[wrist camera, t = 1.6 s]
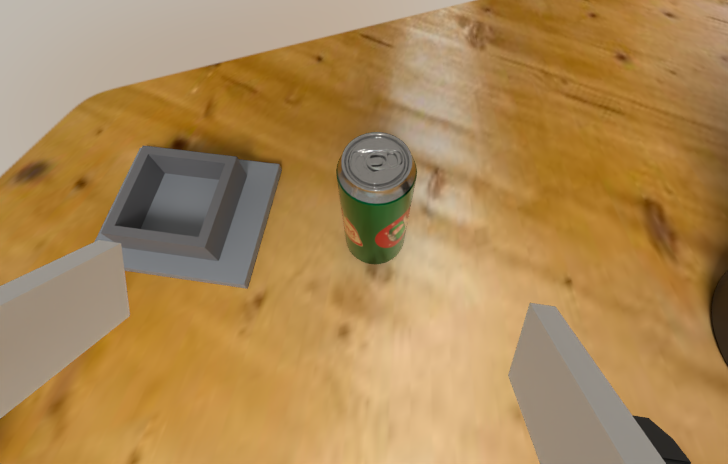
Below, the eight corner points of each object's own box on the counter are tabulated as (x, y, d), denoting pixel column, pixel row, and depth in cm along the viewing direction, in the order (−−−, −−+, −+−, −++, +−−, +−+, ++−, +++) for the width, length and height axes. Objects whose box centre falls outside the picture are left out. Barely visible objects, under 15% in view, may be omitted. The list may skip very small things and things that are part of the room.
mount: (281, 170, 37) (271, 144, 33) (247, 288, 32) (231, 273, 29) (145, 153, 38) (122, 127, 35) (92, 265, 33) (58, 248, 30)
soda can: (343, 218, 35) (331, 131, 24) (398, 211, 35) (410, 122, 24) (349, 270, 33) (339, 201, 22) (408, 262, 33) (426, 190, 22)
